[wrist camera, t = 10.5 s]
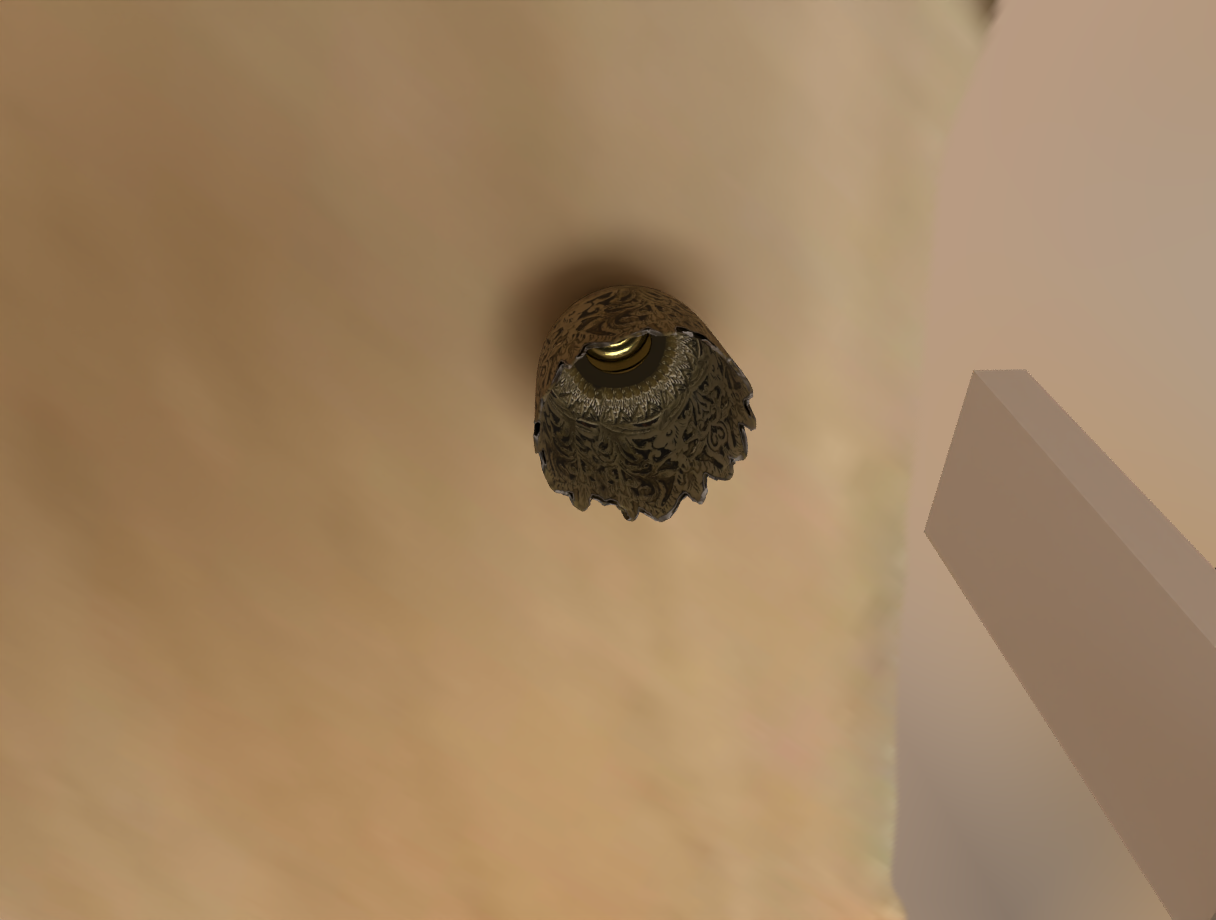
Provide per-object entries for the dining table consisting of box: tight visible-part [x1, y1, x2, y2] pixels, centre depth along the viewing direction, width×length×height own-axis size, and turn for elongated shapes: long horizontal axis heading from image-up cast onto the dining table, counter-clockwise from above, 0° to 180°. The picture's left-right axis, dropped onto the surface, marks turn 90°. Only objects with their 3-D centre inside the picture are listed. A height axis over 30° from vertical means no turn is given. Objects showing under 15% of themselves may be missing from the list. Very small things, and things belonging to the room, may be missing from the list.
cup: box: [533, 285, 756, 522], centre depth 39 cm, size 8×7×8 cm
